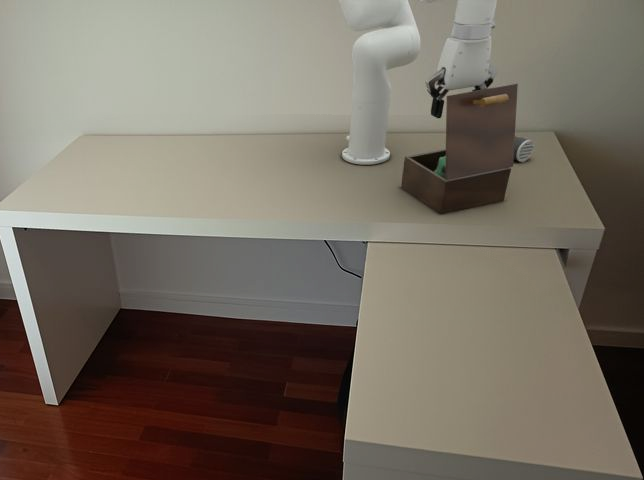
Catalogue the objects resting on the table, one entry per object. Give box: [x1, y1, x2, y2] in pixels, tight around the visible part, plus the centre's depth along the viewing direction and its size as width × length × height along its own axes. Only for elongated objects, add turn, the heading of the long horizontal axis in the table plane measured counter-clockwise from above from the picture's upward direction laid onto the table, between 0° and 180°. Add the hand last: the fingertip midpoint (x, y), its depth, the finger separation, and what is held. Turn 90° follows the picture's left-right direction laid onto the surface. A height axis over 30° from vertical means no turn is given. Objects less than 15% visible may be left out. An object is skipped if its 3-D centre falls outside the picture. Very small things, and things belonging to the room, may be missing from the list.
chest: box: [400, 148, 512, 215], centre depth 152 cm, size 17×17×8 cm
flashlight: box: [513, 136, 535, 163], centre depth 170 cm, size 15×5×5 cm, turn 25°
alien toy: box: [434, 156, 446, 179], centre depth 152 cm, size 7×8×10 cm
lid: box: [445, 83, 519, 180], centre depth 138 cm, size 17×17×5 cm
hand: (454, 113), depth 145 cm, fingers open, 9 cm apart
